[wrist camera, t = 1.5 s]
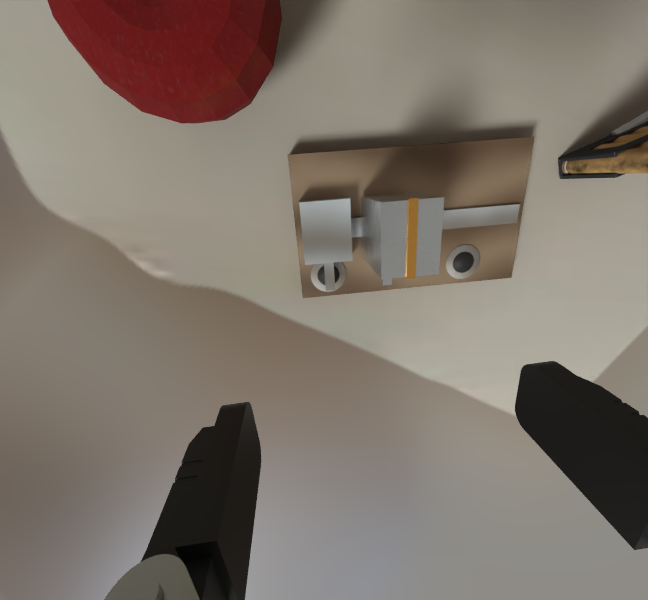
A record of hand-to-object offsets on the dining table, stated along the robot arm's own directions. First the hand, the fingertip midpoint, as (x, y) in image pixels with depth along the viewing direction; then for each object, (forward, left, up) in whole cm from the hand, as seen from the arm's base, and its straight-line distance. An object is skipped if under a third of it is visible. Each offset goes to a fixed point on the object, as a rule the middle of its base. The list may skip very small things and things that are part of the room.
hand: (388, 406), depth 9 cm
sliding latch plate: (-2, +8, -21) cm, 22 cm away
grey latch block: (-1, +5, -19) cm, 20 cm away
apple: (-15, -7, -21) cm, 27 cm away
